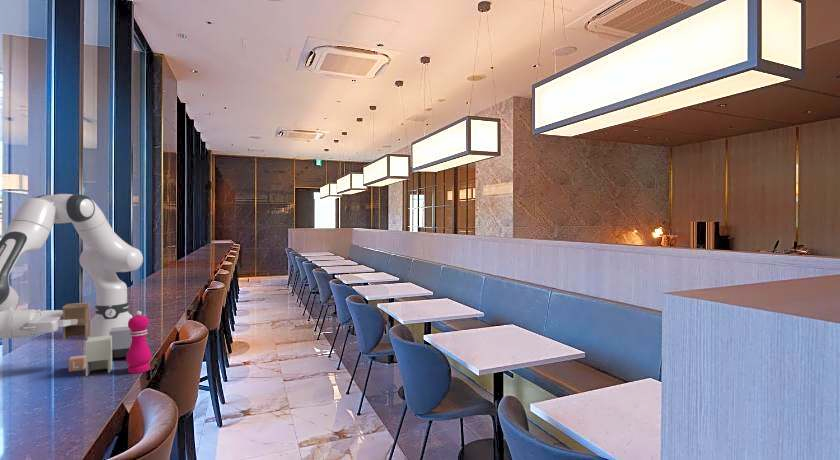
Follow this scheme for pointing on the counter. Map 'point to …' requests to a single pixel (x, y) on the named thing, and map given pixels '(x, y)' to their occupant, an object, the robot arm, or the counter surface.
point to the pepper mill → (138, 345)
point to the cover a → (80, 313)
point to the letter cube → (77, 363)
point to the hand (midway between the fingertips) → (80, 319)
